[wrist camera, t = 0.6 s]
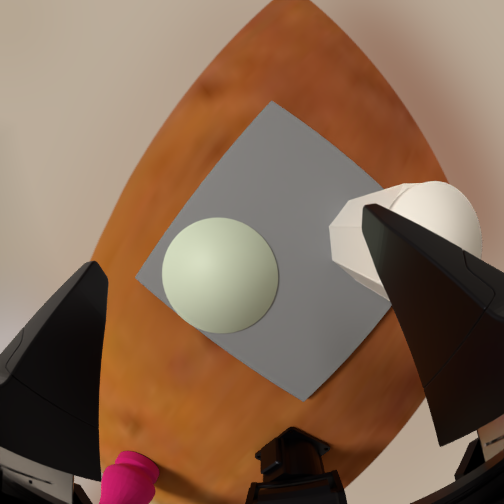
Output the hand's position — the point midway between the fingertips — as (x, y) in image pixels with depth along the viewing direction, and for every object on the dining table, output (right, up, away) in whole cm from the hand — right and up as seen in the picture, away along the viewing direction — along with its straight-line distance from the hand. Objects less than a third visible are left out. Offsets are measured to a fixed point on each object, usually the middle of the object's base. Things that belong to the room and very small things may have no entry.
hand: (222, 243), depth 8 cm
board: (+4, -1, +15) cm, 16 cm away
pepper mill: (-15, -30, +19) cm, 39 cm away
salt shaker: (+11, +1, +14) cm, 18 cm away
